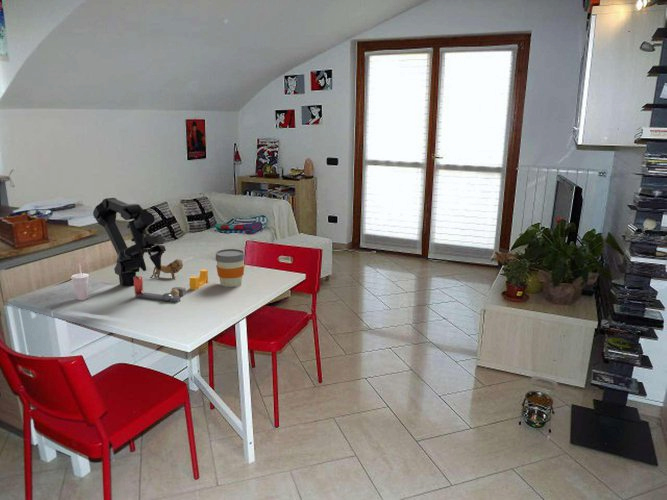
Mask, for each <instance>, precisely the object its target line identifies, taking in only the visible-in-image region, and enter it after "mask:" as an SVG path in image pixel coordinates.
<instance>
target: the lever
mask: <svg viewBox="0 0 667 500" xmlns="http://www.w3.org/2000/svg"><path fill="white" fill-rule="evenodd" d="M133 288H134V295H135V298H141V299H149V300H157V301H158V300H159V301H163V302H165V303H179V302H181V296H173V294H172V293H170V292H166V293H163V294H162V293H161V294H160V293H152V292H151V293H149V292H144V285H143V276H137V277H134V286H133Z"/></svg>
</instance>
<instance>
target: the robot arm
mask: <svg viewBox="0 0 667 500" xmlns="http://www.w3.org/2000/svg"><path fill="white" fill-rule="evenodd" d="M118 213H119V214H120V217H121V218H122V219H124V220H125V221H128V220H129V221H128V224H127V226H126V228H127V229H129V231H130V234H131V236H132V238H130V240H131V242H134V244H133V245H130V246H129V247H128V246H127V243H126V242H125V239H124V237H123V235H122V233H121V231H120V229H119V227H118V225H117V223H116V221H117V214H118ZM92 215H93V218H94V219H95V220H96V222H97V224H99V225H100V226H101V227H103V228H104V229H105V231H106V233H107V235H108V237H109V239H110V242H111V244H112V247H113V248H114V250H115V252H116V254H117V256H116V261H115V262H116V264H115V266H114V267H113V268H114V274H116V275H117V276H118V280H119V285H121V286H122V287H134V277H138V276H137V273H139V272H140V269H141V270H142V272H146V271H147V266H146V263H145V262H146V261H145V259H144V255H145V254H146V253H147V254H148V255H149V259H150V261H151V262H152V264H153V265H154V267H155V266H156V268H157V269H158V270H161V265H162V256H163V254H164V253H165V252H166V251H167V250H166V247H165V245H164V242H165V241H166V238H165V236H164V234H163V233H158V234H157V235H152V234H151V233H148V231H147V229H148V228H150V227H151V225H153V224H154V223H155V219H156V218H155V215H153V214H152V213H151V212H150V211H148V209H147V208H143V207H142V206H141V205H140V204H139V203H138V204H137V203H127V202H124V201H121V200H119V199H117V198H115V197H110V198H109V197H108V198H107V197H105V198H104V199H102V201H101V202H100V203H98V204H97V205H96V206H95V208H94V210H93V211H92ZM130 220H131V221H130Z"/></svg>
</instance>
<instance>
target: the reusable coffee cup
mask: <svg viewBox="0 0 667 500" xmlns="http://www.w3.org/2000/svg"><path fill="white" fill-rule="evenodd" d="M245 255H246V254H245V251H244V250H242V249H240V248H239V249H238V248H237V249H236V248H225V249H220V250H217V251H216V252H215V262H216V271H217V276H218V277H219V284H220V286H222V287H226V288H230V287H231V288H234V287H239V288H240V287H242V284H243V277H244V274H245V266H246V265H245V260H246V257H245Z"/></svg>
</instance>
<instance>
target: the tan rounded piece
mask: <svg viewBox="0 0 667 500" xmlns="http://www.w3.org/2000/svg"><path fill="white" fill-rule="evenodd" d="M169 293H172V294H173V296H179V291H178V290H177V289H173V290H172V289H171V290H170V292H169Z"/></svg>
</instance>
